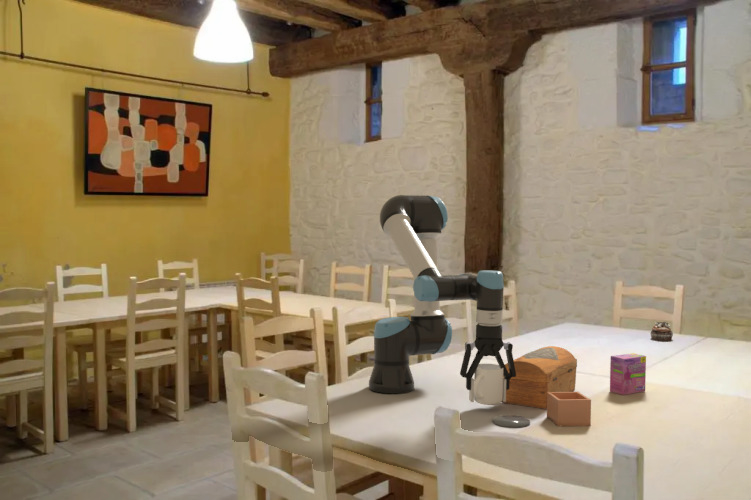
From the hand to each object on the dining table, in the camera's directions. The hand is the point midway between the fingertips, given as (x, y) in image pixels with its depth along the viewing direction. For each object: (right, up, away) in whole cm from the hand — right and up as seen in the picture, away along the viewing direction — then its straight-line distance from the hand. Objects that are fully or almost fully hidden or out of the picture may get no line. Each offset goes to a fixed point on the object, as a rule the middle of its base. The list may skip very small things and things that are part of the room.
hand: (487, 400), depth 200 cm
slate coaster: (+4, -3, -13) cm, 14 cm away
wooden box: (+19, -3, +17) cm, 26 cm away
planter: (+20, -3, -12) cm, 24 cm away
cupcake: (+99, 0, +117) cm, 153 cm away
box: (+49, -2, +23) cm, 54 cm away
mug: (-1, -1, -1) cm, 2 cm away
